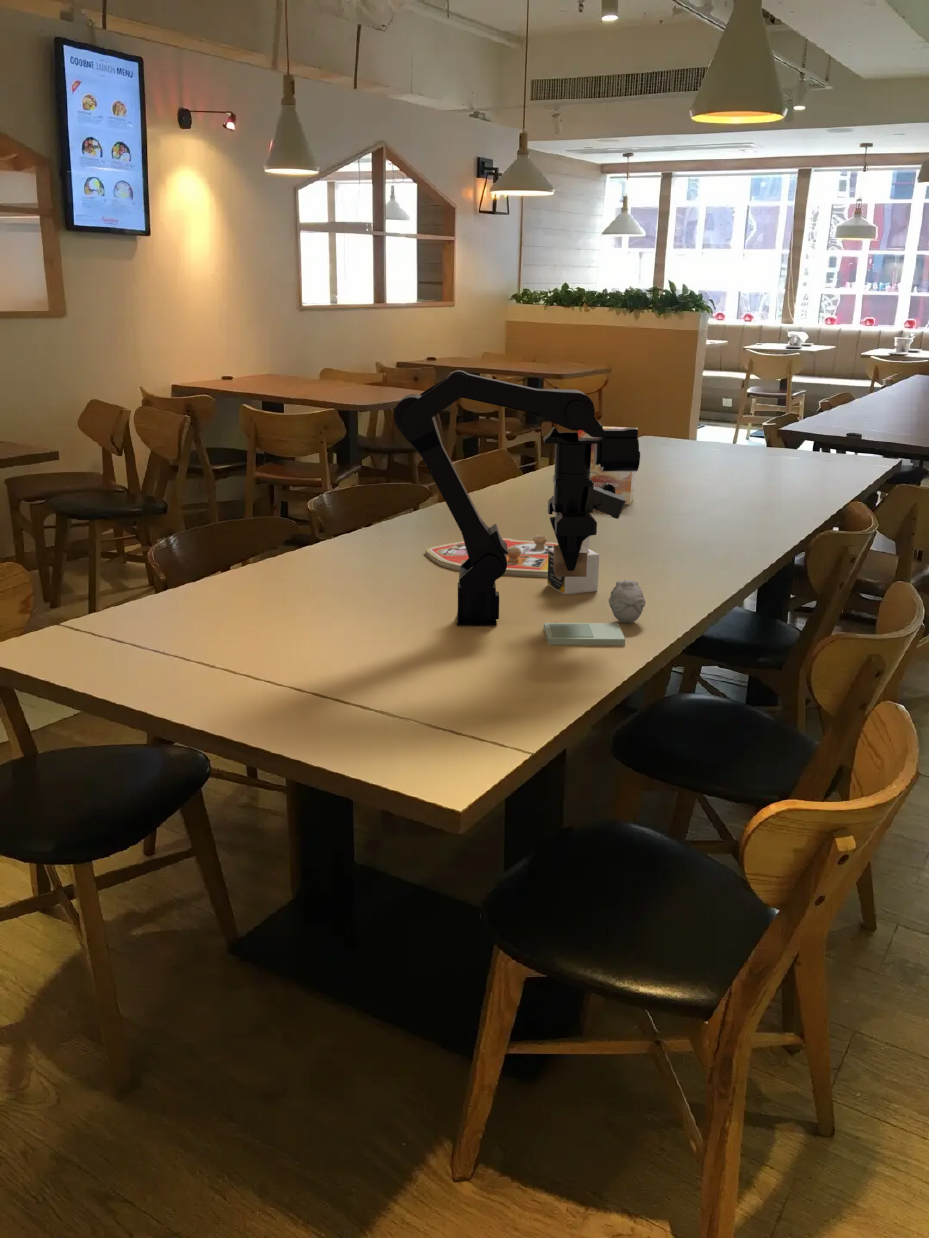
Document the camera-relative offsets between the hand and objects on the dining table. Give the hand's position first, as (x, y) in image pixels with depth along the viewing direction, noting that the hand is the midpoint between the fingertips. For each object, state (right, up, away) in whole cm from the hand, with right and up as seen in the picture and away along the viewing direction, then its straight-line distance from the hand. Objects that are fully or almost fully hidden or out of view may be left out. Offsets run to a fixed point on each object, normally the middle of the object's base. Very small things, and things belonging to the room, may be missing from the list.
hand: (569, 566), depth 162 cm
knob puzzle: (-11, +3, +44) cm, 46 cm away
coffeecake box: (+20, +23, +103) cm, 107 cm away
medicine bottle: (+3, -3, +22) cm, 22 cm away
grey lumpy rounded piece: (+10, -9, +3) cm, 14 cm away
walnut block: (0, -1, 0) cm, 1 cm away
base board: (+2, -11, -5) cm, 13 cm away
